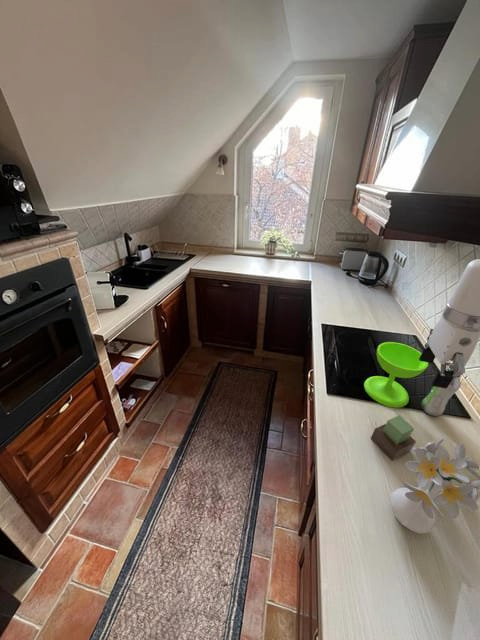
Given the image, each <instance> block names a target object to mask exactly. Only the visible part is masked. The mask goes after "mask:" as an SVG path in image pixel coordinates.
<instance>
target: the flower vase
mask: <svg viewBox="0 0 480 640" xmlns="http://www.w3.org/2000/svg"><path fill="white" fill-rule="evenodd" d="M444 440H445V437H444V438H442V439H439V440H437V442H435V441H434V440H433V441H430V442H427V443H426V444H425V448H424V447H423V446H421V447H419V446H418V447H412V449H411V451H410V452H414V454H415V457H416V459H417V460H418V461H416V460H408V461H407V462H405V468H406V469H408V470H409V471H411V472H414V473H418V475H417V478H416V484H417V487H416V486H414V485H412V484H410V483H408V482H406V481H404V480H401V484H402V485H403V486H404V487H399V488H397V489H395V490H394V491H393V492H392V493H391V495H390V498H389V499H390V506H391V510H392V512H393V514H394V516H395V518H396V519H397V521H398V522H399V523H400V524H401V525H402V526H403V527H405V528H406V529H408V530H409V531H412V532H413V533H416V534H422V535H423V534H424V535H425V534H428V533H431V532H432V531H433V530H434V528H435V526H436V515H438V516H439V517H441V518H442V519H443V518H445V516H444V514H443V513H442V512H441V510H440V508H439V507H438V506H437V505H444V504H446V509H447V513H448V515H449V517H450V518H451V519H456V518H458V516H459V514H460V506H462V507H463V508H465V509H467V510H468V512H469V513H471V511H477V510H478V509H479V505H478V503H477V502H478V501H479V497H480V494H479V491H478V490H479V489H480V475H479V474H478V472H477V471H475V470H480V466H479V464H478V463H477V462H476V461H475V460H473V459H472V458H470V457H466V455H467V451H466V447H465V446H464V444H463V442H462V441H459V444H456V443H454V447H455V458H451V459H450V455H449V453H448V451H447V450H446V448H445V447H444V446H442V443H443V441H444ZM436 452H437V455H436ZM463 469H465V470H466V471H467V472H469V473H470V474H472V475H473V476H474V477H476V479H477V480H473V481H470V478H469V477H468V476H467V475H466V474H465V473H464V472H462V471H460V470H463ZM453 481H455V482H457V483H458V484H460V485H454V484H453ZM441 490H442V491H441ZM440 491H441V492H440ZM459 505H460V506H459Z"/></svg>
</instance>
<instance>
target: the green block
mask: <svg viewBox="0 0 480 640" xmlns="http://www.w3.org/2000/svg"><path fill="white" fill-rule="evenodd" d="M385 424H386V425H385V427H384V429H383V432H384V433H385V434H386V435H387V436H388V437H389V438H390V439H391V440H392V441H393V442H394V443H395V444H396V445H397V444H399V443H401V442H403V441H405V440H407V439H408V438H409V437H410V436H411V435H412V434H413V432H414V430H415V427H414V426H412V425H411V424H410V423H409V422H408V421H406V420H405V419H404V418H403V417H402V416H401V415H397V416H395V417H392V418H390V419H388V420H387V421H386V423H385Z"/></svg>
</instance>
